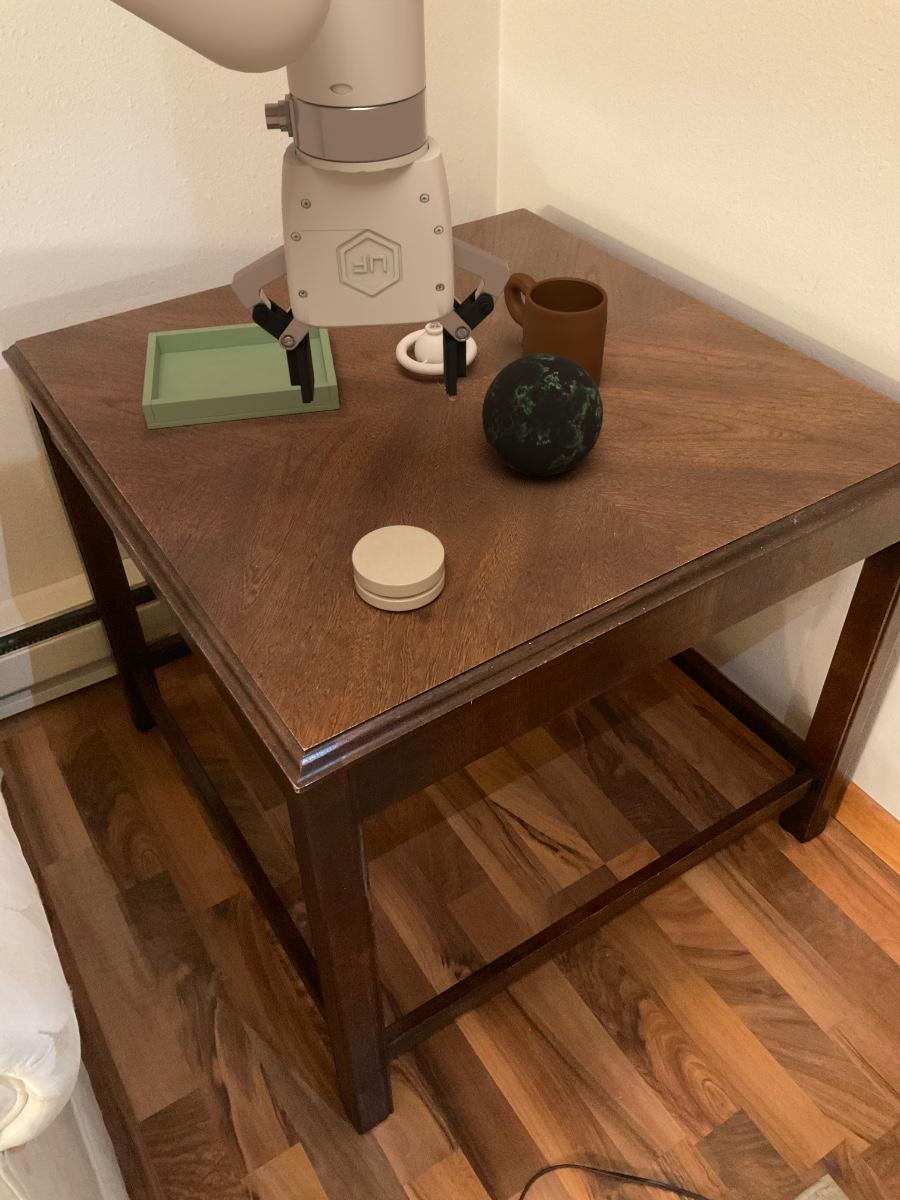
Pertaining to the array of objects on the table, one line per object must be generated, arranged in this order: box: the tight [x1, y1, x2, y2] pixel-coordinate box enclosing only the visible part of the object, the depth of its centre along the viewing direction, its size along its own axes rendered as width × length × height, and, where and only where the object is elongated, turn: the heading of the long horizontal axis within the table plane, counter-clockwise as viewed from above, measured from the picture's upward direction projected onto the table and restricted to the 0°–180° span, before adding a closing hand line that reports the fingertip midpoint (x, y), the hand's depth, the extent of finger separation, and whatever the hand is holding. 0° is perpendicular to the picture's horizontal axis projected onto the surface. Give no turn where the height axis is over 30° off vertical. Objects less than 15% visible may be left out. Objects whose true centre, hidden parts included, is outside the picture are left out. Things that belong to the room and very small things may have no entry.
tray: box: [141, 322, 341, 430], centre depth 95 cm, size 18×14×3 cm
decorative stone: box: [481, 353, 604, 477], centre depth 82 cm, size 10×10×10 cm
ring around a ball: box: [395, 321, 478, 376], centre depth 96 cm, size 8×6×8 cm
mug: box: [503, 272, 609, 389], centre depth 93 cm, size 12×8×9 cm, turn 38°
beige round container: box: [351, 524, 446, 612], centre depth 74 cm, size 7×7×3 cm
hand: (379, 389), depth 67 cm, fingers open, 9 cm apart
